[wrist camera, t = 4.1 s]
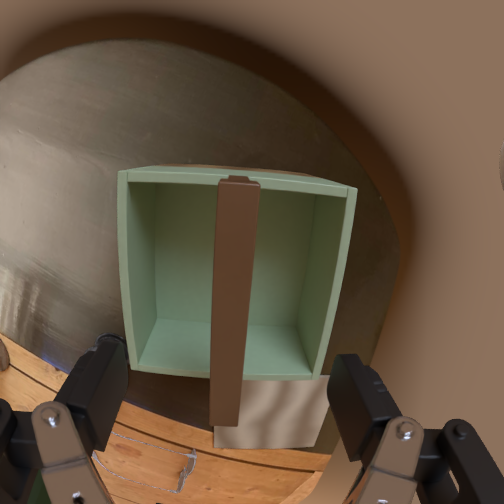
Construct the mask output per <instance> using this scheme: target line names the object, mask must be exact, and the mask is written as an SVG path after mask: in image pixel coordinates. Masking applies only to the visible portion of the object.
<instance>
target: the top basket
mask: <svg viewBox="0 0 504 504" xmlns="http://www.w3.org/2000/svg"><path fill="white" fill-rule="evenodd" d="M356 197H357V189H356V188H353V187H350V186H347V185H343V184H340V183H336V182H333V181H330V180H326V179H322V178H315V177H306V176H298V175H288V174H279V173H268V172H257V171H245V170H232V169H217V168H198V167H174V166H148V167H141V168H134V169H128V170H122V171H118V177H117V234H118V258H119V274H120V287H121V298H122V308H123V317H124V325H125V333H126V340H127V347H128V354H129V360H130V366H131V370H139V371H144V372H151V373H159V374H168V375H177V376H188V377H199V378H210V426H224V427H238V421H239V411H240V400H241V390H242V380H261V381H298V380H318V379H319V376H320V373H321V369H322V365H323V362H324V358H325V354H326V350H327V346H328V342H329V338H330V334H331V330H332V326H333V322H334V317H335V313H336V308H337V304H338V299H339V295H340V290H341V285H342V280H343V275H344V270H345V265H346V259H347V254H348V248H349V242H350V237H351V231H352V224H353V218H354V211H355V204H356Z"/></svg>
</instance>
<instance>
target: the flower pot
mask: <svg viewBox="0 0 504 504" xmlns="http://www.w3.org/2000/svg"><path fill="white" fill-rule="evenodd" d="M2 456H3V455H2ZM1 458H2V457H1ZM0 460H1V459H0ZM27 504H52V503H51V500H50V498H49V495H48V492H47V489H46V487H45V484H44V481H43V478H42V474H41V469H39V470H38V473H37V475H36V478H35V481H34V484H33V487H32V490H31V493H30V496H29V499H28V502H27Z"/></svg>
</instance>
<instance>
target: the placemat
mask: <svg viewBox="0 0 504 504" xmlns="http://www.w3.org/2000/svg"><path fill="white" fill-rule="evenodd" d="M329 377H330V375H320V376H319V379H318V380H298V381H261V380H242V390H241V400H240V411H239V421H238V427H224V426H214V448H231V449H279V448H299V447H313V446H314V444H315V442H316V439H317V436H318V434H319V431H320V429H321V426H322V423H323V421H324V418H325V415H326V413H327V410H328V407H329V402H328V399H327V383H328V380H329Z"/></svg>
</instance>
